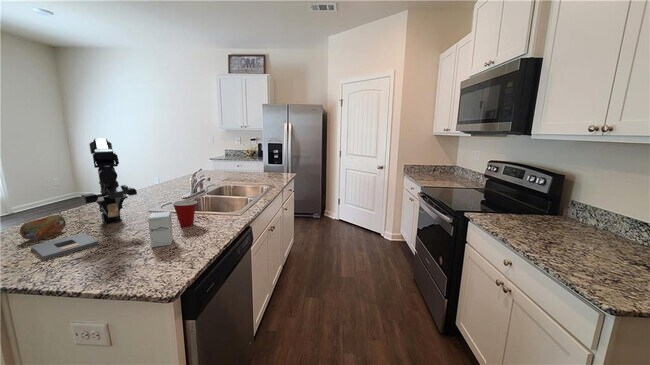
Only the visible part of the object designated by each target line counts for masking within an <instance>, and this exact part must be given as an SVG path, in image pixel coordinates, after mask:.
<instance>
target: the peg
mask: <svg viewBox="0 0 650 365" xmlns="http://www.w3.org/2000/svg"><path fill="white" fill-rule="evenodd" d="M106 206H107V210H108V217H116V216H119V211H118V204H109V205H106Z"/></svg>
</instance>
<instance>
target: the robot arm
mask: <svg viewBox="0 0 650 365" xmlns="http://www.w3.org/2000/svg"><path fill="white" fill-rule="evenodd" d="M88 146H89V150H90V154H92V158H93V159H92V161H93V166H94V168H95V169H96V168H97V173H98V174H97V175H98V180H99V181H98V185H99V186H100V194H95V193H94V192H92V193H85V194H81V195H80V201H81V202H82V203H85V204H91V203H96V204H98V207H99V213H101V214H100V216H101V222H102V223H103V224H106V225H108V224H113V223H114V224H115V223H117V222H121V221H123V219H122V218H121V211H122V209H123V202H124V201H125V199H127V198H129V196H135V195H138V191H137V189H135V188H134V187H129V186H128V185H127V184H122V185H119V181H118V180H117V178H118V173H117V172H116V169H115V167H119V164H120V162H119V158H118V157H119V156H118V154H117V153H116V152H114V151H113V145H112V142H110V141H108V138H104V137H103V138H102V137H100V138H99V137H96V138H93V141H91V142H90V143H89V144H88ZM127 195H128V196H127ZM109 204H118V211H119V216H116V217H108V210H107V206H106V205H109Z"/></svg>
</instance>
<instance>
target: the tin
mask: <svg viewBox="0 0 650 365" xmlns="http://www.w3.org/2000/svg"><path fill="white" fill-rule="evenodd" d="M66 224H67V222H66V220H65V218H64V217H63V216H62V215H58V214H55V215H54V214H52V215H46V216H43V217H40V218H36V219H33V220H29V221H26V222H25V223H23V224H22V225H21V226H20V229H19V234H20V236H21V237H22V238H23V239H25V240H29V241H36V240H41V239H44V238H47V237H50V236H52V235H56V234H58V233H61V232H62V231H63V230H64V229H65V227H66Z"/></svg>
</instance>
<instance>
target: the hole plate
mask: <svg viewBox="0 0 650 365" xmlns="http://www.w3.org/2000/svg"><path fill="white" fill-rule="evenodd" d="M99 245H100V243H99V241H98V240H97V239H96V238H93V237H92V236H90V235H88V234H87V233H84V232H81V233H78V234H73V235H69V236H65V237H61V238H58V239H52V240H49V241H45V242H41V243H37V244H34V245H33V244H32V245H30V249H31V251H32V252H34V253H35V254H36V255H37V256H38V257H39V258H40V259H42V260H43V261H46V260H47V261H48V260H50V259H53V258H56V257H57V258H58V257H60V256H64V255H67V254H70V253H74V252H77V251H81V250H84V249H87V248H92V247H95V246H99Z"/></svg>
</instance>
